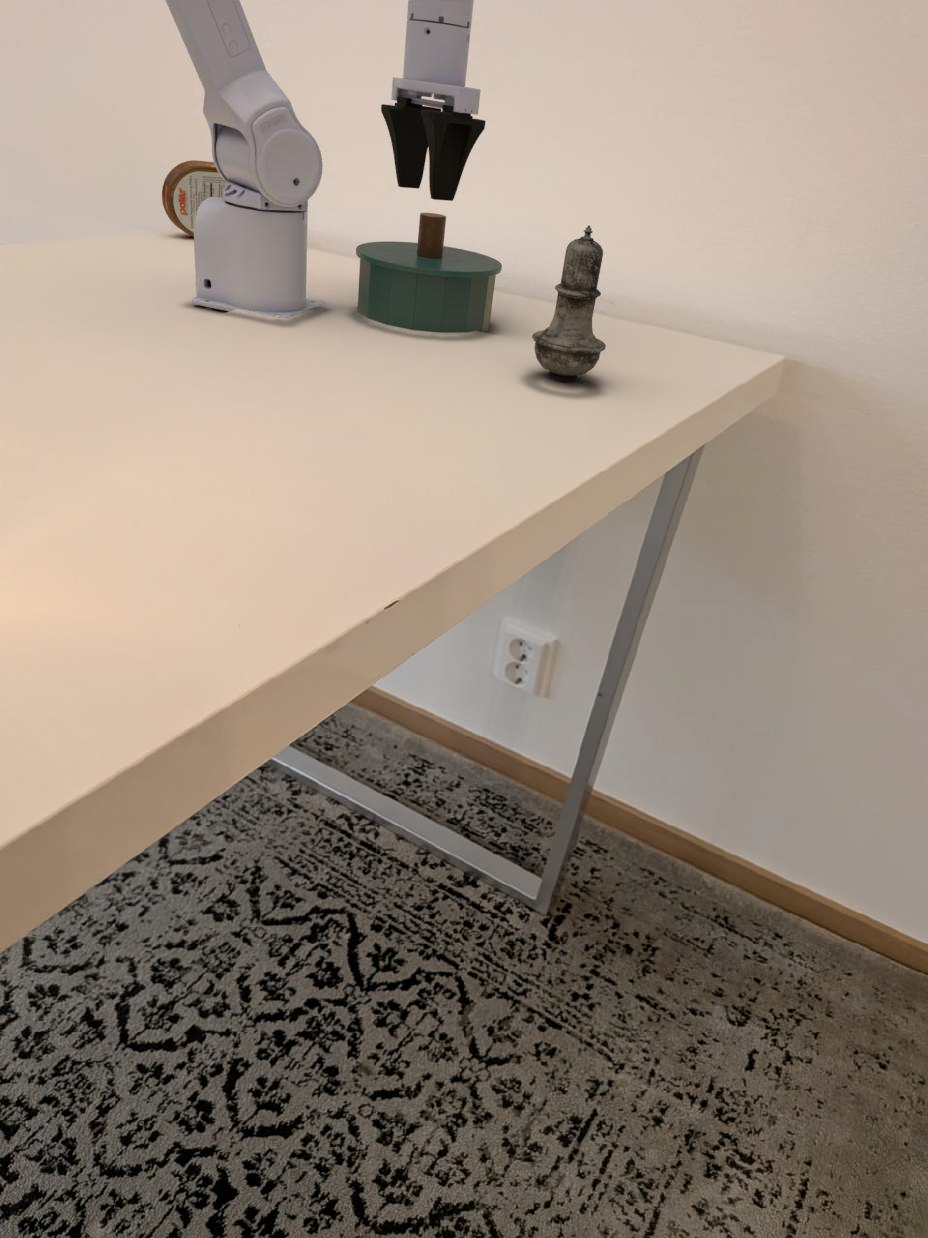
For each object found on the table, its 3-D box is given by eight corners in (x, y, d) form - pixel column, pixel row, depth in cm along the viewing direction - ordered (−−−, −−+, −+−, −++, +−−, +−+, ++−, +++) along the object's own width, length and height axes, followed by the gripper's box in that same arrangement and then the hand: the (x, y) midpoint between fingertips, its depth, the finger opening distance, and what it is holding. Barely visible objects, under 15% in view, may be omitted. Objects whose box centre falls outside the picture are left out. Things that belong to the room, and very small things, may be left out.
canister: (335, 320, 81) (338, 258, 78) (386, 298, 91) (390, 242, 89) (465, 346, 78) (472, 283, 75) (502, 320, 89) (510, 263, 86)
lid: (331, 265, 78) (333, 208, 76) (388, 247, 89) (391, 198, 87) (476, 292, 75) (483, 234, 73) (516, 270, 87) (523, 219, 84)
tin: (281, 238, 115) (282, 165, 110) (290, 242, 112) (290, 169, 108) (163, 233, 108) (158, 156, 103) (169, 238, 105) (165, 160, 101)
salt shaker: (549, 397, 68) (578, 230, 62) (512, 374, 72) (535, 216, 66) (611, 394, 71) (644, 234, 64) (571, 372, 75) (599, 220, 69)
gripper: (518, 32, 74) (496, 207, 81) (443, 29, 85) (429, 184, 92) (444, 20, 71) (428, 203, 78) (375, 18, 82) (367, 180, 89)
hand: (424, 193), depth 85 cm, fingers open, 7 cm apart
